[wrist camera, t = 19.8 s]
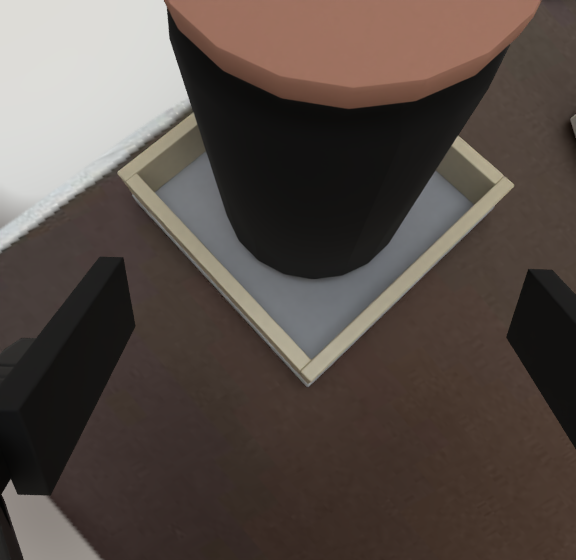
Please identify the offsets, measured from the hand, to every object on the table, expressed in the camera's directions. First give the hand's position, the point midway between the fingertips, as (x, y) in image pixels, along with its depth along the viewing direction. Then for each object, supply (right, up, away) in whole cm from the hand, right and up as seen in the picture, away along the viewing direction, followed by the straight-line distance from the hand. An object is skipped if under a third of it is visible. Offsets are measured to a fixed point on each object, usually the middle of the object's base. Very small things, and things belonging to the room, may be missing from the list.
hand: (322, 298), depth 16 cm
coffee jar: (0, +5, +14) cm, 15 cm away
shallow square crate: (0, +5, +15) cm, 16 cm away
